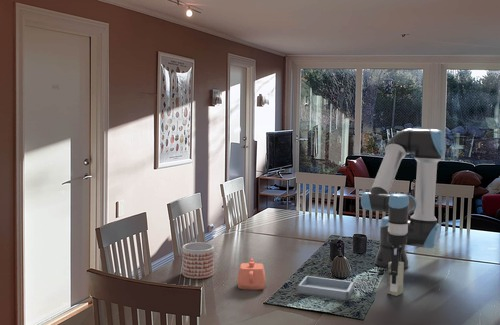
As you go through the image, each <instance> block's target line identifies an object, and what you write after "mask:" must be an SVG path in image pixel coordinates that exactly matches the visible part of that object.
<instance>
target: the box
mask: <svg viewBox="0 0 500 325" xmlns="http://www.w3.org/2000/svg"><path fill="white" fill-rule="evenodd" d="M404 269H405V268H404V262H400V261H399V264H398V288H397V292H393V291H390V278H391V275H389V273H390V272H391V262H389V263H388V268H387V290H386V292H387V294H388V295H391V296H394V297H396V296H399V295H401V294H403V291H404V271H405V270H404ZM393 272H394V271H393Z"/></svg>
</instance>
